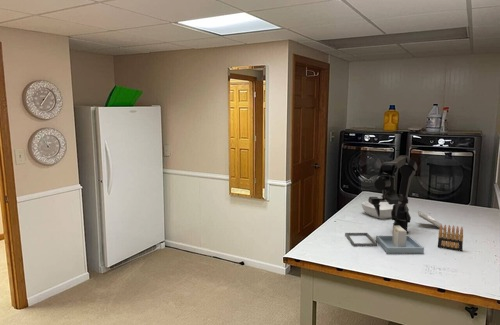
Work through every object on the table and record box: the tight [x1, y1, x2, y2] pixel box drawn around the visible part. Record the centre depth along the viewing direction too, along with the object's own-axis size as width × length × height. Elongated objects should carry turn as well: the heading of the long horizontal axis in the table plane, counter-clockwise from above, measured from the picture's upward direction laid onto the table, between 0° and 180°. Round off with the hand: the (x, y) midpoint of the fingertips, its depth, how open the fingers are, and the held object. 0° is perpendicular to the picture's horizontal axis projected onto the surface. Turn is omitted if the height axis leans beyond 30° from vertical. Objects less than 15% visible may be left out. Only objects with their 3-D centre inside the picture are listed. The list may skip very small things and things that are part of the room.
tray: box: [375, 235, 425, 255], centre depth 184 cm, size 17×17×3 cm
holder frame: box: [344, 232, 378, 247], centre depth 194 cm, size 12×17×1 cm
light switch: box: [417, 210, 444, 231], centre depth 216 cm, size 8×6×14 cm
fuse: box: [391, 224, 408, 247], centre depth 183 cm, size 3×9×9 cm, turn 179°
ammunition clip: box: [437, 223, 464, 252], centre depth 181 cm, size 11×2×12 cm, turn 58°
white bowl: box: [361, 200, 394, 220], centre depth 239 cm, size 20×20×8 cm
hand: (387, 216), depth 193 cm, fingers open, 9 cm apart
